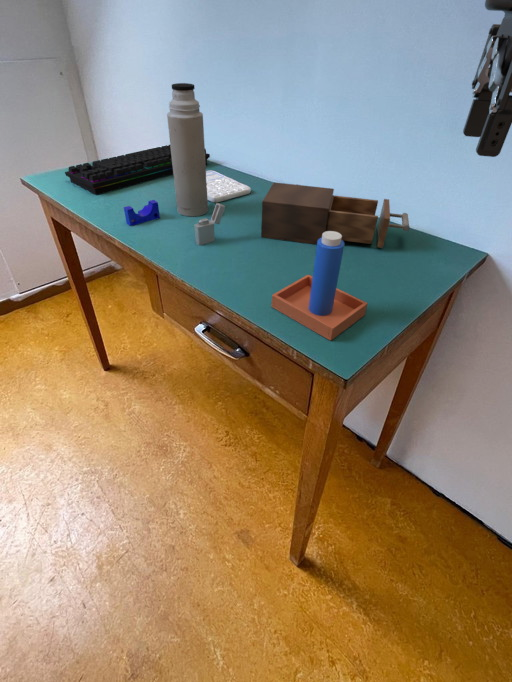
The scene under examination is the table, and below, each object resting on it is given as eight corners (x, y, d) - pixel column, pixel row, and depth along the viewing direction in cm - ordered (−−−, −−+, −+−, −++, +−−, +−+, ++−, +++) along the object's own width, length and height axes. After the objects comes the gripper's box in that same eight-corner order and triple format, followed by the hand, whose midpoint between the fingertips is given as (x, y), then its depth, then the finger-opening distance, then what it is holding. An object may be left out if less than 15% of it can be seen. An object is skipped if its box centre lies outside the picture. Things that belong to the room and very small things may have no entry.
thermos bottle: (171, 212, 102) (155, 84, 84) (190, 202, 108) (179, 80, 90) (195, 219, 99) (185, 88, 81) (214, 208, 105) (208, 83, 86)
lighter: (199, 245, 89) (196, 210, 83) (195, 242, 90) (192, 208, 84) (226, 238, 92) (225, 204, 87) (222, 235, 93) (221, 201, 88)
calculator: (214, 204, 107) (213, 197, 106) (175, 183, 119) (175, 176, 117) (252, 193, 114) (252, 186, 112) (212, 174, 125) (212, 168, 124)
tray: (364, 315, 70) (367, 303, 68) (330, 341, 64) (332, 328, 63) (306, 285, 77) (308, 274, 75) (271, 306, 71) (271, 294, 70)
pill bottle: (333, 304, 71) (346, 231, 62) (331, 317, 68) (344, 242, 59) (310, 300, 72) (320, 227, 63) (306, 313, 69) (316, 239, 60)
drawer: (402, 229, 96) (410, 201, 91) (404, 251, 87) (413, 221, 83) (327, 220, 98) (331, 193, 94) (322, 240, 90) (326, 211, 86)
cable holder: (153, 213, 101) (150, 197, 99) (160, 218, 99) (157, 202, 97) (124, 221, 97) (120, 205, 95) (130, 226, 95) (127, 209, 93)
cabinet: (328, 223, 99) (334, 188, 94) (323, 245, 90) (328, 208, 84) (272, 216, 102) (273, 182, 96) (261, 237, 92) (262, 201, 87)
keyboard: (180, 154, 141) (178, 139, 138) (210, 164, 133) (210, 148, 130) (66, 181, 117) (62, 164, 114) (95, 196, 109) (90, 177, 106)
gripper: (642, -74, 28) (533, 167, 38) (570, -51, 38) (500, 133, 49) (527, -73, 29) (451, 160, 40) (488, -52, 40) (436, 128, 50)
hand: (478, 144), depth 44 cm, fingers open, 8 cm apart
